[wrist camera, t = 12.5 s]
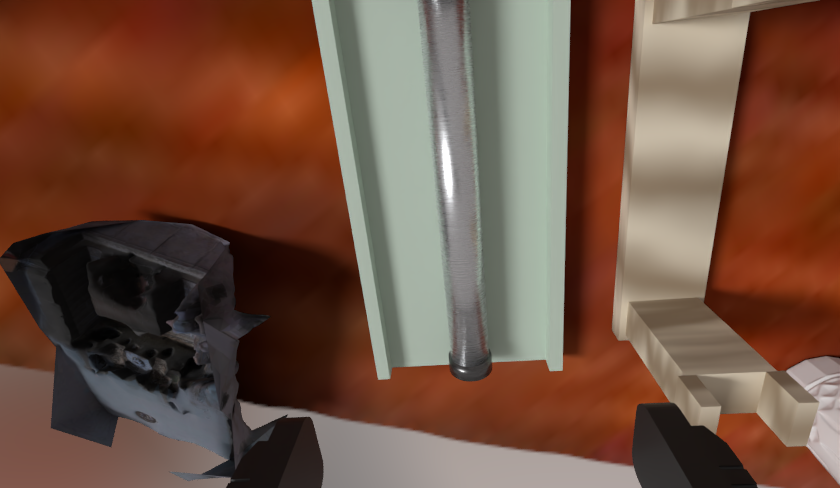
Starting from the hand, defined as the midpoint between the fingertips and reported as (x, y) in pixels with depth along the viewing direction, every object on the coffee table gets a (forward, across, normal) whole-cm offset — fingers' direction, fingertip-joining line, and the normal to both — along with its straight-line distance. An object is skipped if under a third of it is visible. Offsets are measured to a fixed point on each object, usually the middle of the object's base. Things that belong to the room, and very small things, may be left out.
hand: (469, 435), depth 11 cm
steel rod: (+20, 0, 0) cm, 21 cm away
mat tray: (+23, 0, 0) cm, 23 cm away
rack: (+23, -15, 0) cm, 27 cm away
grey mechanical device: (+23, +23, +10) cm, 34 cm away
